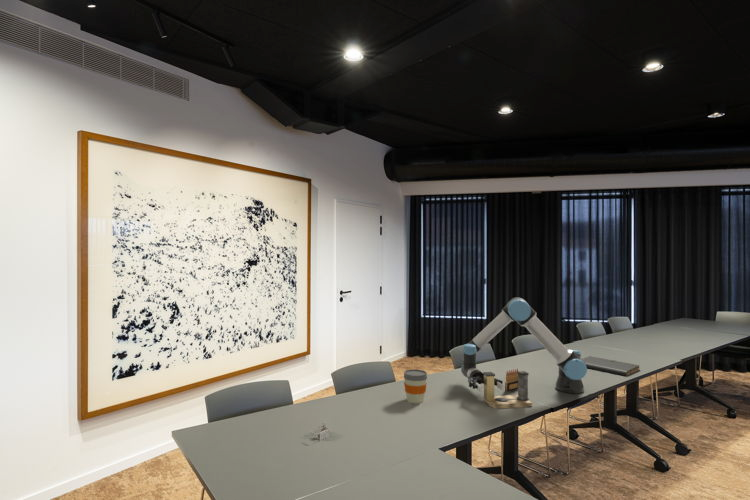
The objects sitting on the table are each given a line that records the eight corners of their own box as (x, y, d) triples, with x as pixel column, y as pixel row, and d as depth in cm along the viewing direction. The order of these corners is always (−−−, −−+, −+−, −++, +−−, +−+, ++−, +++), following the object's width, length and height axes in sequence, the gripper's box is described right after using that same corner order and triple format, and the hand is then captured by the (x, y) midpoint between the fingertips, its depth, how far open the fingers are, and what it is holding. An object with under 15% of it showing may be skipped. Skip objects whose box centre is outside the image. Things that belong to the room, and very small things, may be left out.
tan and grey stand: (522, 398, 229) (522, 368, 229) (534, 406, 217) (534, 375, 217) (484, 400, 226) (484, 370, 226) (493, 408, 214) (493, 376, 214)
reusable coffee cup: (426, 405, 218) (426, 376, 218) (402, 403, 221) (402, 375, 221) (427, 397, 230) (427, 370, 231) (405, 395, 233) (405, 368, 233)
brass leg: (491, 398, 223) (491, 371, 223) (494, 401, 218) (495, 374, 218) (483, 398, 222) (483, 372, 222) (486, 401, 217) (486, 374, 217)
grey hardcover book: (639, 364, 287) (625, 371, 271) (639, 370, 287) (625, 377, 271) (589, 355, 312) (574, 361, 297) (590, 361, 312) (574, 367, 297)
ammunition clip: (507, 392, 239) (507, 371, 239) (504, 391, 241) (504, 370, 241) (519, 389, 245) (519, 368, 245) (517, 388, 247) (517, 367, 247)
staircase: (321, 435, 183) (321, 422, 183) (328, 437, 180) (328, 425, 180) (310, 440, 178) (310, 427, 178) (317, 443, 175) (317, 430, 175)
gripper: (495, 382, 239) (513, 394, 218) (455, 383, 236) (470, 396, 215) (495, 368, 240) (513, 380, 218) (455, 370, 236) (470, 382, 215)
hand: (492, 388), depth 216 cm, fingers open, 11 cm apart
